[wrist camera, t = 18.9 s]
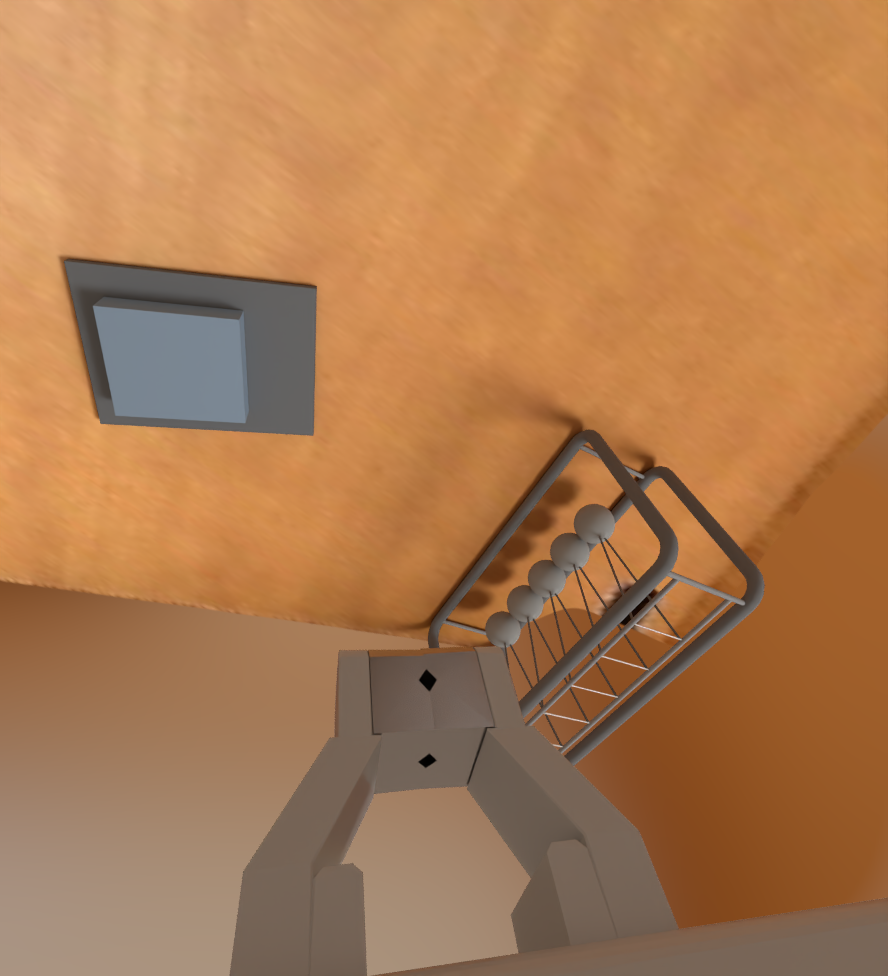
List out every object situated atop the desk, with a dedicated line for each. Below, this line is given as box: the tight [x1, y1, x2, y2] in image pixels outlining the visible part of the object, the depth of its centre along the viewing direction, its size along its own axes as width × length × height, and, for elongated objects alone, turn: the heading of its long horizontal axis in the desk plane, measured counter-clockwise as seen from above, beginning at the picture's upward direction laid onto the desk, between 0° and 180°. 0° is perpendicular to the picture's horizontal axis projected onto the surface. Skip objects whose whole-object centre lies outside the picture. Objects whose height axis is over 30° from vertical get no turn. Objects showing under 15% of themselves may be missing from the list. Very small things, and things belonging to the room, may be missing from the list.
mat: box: [64, 259, 317, 436], centre depth 41 cm, size 12×16×1 cm
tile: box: [93, 297, 249, 423], centre depth 40 cm, size 2×8×9 cm
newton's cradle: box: [428, 430, 764, 766], centre depth 51 cm, size 30×10×18 cm, turn 150°
